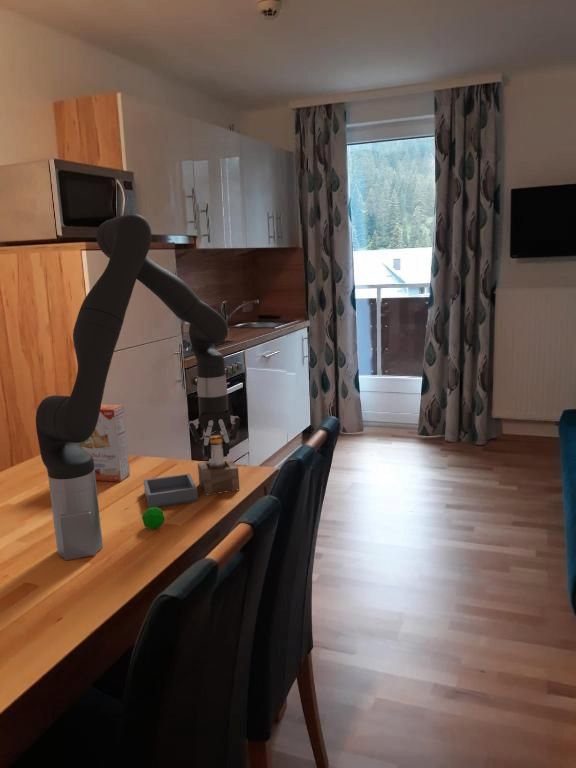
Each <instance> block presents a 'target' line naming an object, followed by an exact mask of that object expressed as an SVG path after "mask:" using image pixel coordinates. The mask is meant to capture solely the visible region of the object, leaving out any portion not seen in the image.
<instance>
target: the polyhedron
mask: <svg viewBox="0 0 576 768" xmlns="http://www.w3.org/2000/svg"><path fill="white" fill-rule="evenodd" d="M141 519H142V523H143V525H144V527H145V528H147V529H148V530H150V531H151V530H157V529H159V528H160V527H161V526H162V525H163V524H164V522H165V515H164V512H163V510H162V509H161V508H160V507H159V508H157V507H150V508H149V507H148V508H147V510H145V511H144V512H143V513H142V516H141Z"/></svg>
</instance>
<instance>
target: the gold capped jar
mask: <svg viewBox="0 0 576 768" xmlns="http://www.w3.org/2000/svg"><path fill="white" fill-rule="evenodd" d="M208 445H209V450H210V459H208V461H209V465H210V470H212V469H219V468H225V459H226V458H225V457H224V443H223V436H222V435H220V434H219V435H210V438H209V443H208Z"/></svg>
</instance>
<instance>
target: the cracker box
mask: <svg viewBox="0 0 576 768" xmlns="http://www.w3.org/2000/svg"><path fill="white" fill-rule="evenodd" d="M125 421H126V420H125V410H124V405H123V404H101V409H100V414H99V418H98V422H97V425H96V428H95V430H94V432H93V434H92V435H91V436H90V437H89V438H88V439H87V440H86V441H84V442H81V443H78V444H79V445H80V446H81V447H82V448H83V449H84V450H85V451H86V452H88V453H89V454H90V455H91V456H92V457H93V460H94V469H95V478H96V481H101V482H104V481H105V482H119V483H121V482H122V481H124V480H125V479H127V478H128V477H129V476H130V471H131V470H130V462H129V450H128V449H129V448H128V440H127V430H126V422H125Z"/></svg>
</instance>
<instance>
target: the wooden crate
mask: <svg viewBox="0 0 576 768" xmlns="http://www.w3.org/2000/svg"><path fill="white" fill-rule="evenodd" d="M224 459H225V468H219V469H212V470H210V465H209V460H208V461H206V460H205V461H202V462H201V461H200V462H197V470H198V473H197V474H198V484H199V486H200V488H201V490H202V492H203V491H204V492H203V494H204V493H205V494H204V496H208V495H207V494H210V495H214V494H213V493H217V494H220V493H219V492H223V493H226V492H225V491H230V492H233V491H232V490H236V491H238V490H237V489H240V478H239V477H240V476H239V474H240V473H239V467H238V466H237V464H236V463H235V462H234V461H233V459H232V458H230V457H229V458H224Z"/></svg>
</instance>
